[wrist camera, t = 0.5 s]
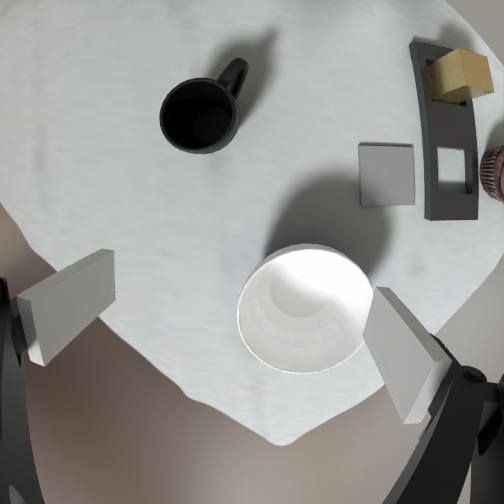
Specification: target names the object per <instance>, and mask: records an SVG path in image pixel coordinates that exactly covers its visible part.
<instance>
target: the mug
mask: <svg viewBox="0 0 504 504" xmlns="http://www.w3.org/2000/svg"><path fill="white" fill-rule="evenodd" d="M247 72H248V64H247V62H246V61H245V60H243V59H241V58H236V59H234V60H233V61H232V62H231V63H230V64H229V65H228V66H227V67H226V69H225V70H224V71H223V72H222V74H221V75H220V77H219V78H218V79H217V81H215V80H212V79H208V78H195V79H190V80H187V81H185V82H182V83H180V84H179V85H177V86H176V87H175V88H173V89H172V90H171V91H170V92H169V94H168V95H167V96H166V98H165V100H164V101H163V104H162V107H161V110H160V117H159V118H160V127H161V130H162V132H163V135H164V136H165V138H166V139H167V141H168V142H170V143H171V144H172V145H173V146H174V147H176V148H178V149H179V150H182V151H185V152H189V153H194V154H208V153H213V152H215V151H218V150H220V149H222V148H224V147H225V146H227V145H228V144H229V143H230V142H231V141H232V139H233V138H234V136H235V135H236V133H237V130H238V127H239V120H240V115H239V109H238V106H237V103H236V99H237V97H238V95H239V92H240V90H241V88H242V85H243V83H244V80H245V78H246V75H247ZM231 82H232V83H231ZM230 83H231V85H230ZM229 85H230V88H229V90H228V89H227V88H228V86H229Z"/></svg>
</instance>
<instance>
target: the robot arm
mask: <svg viewBox="0 0 504 504" xmlns="http://www.w3.org/2000/svg"><path fill="white" fill-rule="evenodd" d="M114 301H115V274H114V251H113V250H107V249H100V250H98V251H96V252H94V253H92V254H91V255H89V256H87V257H85V258H83V259H81V260H79V261H77V262H75V263H74V264H72V265H70V266H68V267H66V268H64V269H63V270H61V271H59V272H57V273H55V274H54V275H52V276H50V277H48V278H47V279H45V280H43V281H41V282H39V283H38V284H36V285H34V286H32V287H31V288H29V289H27V290H26V291H24V292H22V293H21V294H19V295H17V296H16V297H14V298H13V299H11V300H10V299H9V293H8V287H7V280H6V279H5V278H3V277H0V504H45V502H44V500H43V497H42V493H41V489H40V485H39V481H38V477H37V472H36V467H35V463H34V457H33V452H32V446H31V440H30V433H29V426H28V419H27V418H28V417H27V408H26V397H25V380H24V359H23V356H22V352H23V351H24V350H25V349H26V348H27V349H28V353H29V356H30V360H31V361H33V362H35V363H37V364H40V365H42V366H46V365H47V364H48V363H49V361H51V360H52V359H53V358H54V357H55V356H56V355H57V354H58V353H59V352H60V351H61V350H62V349H63V348H64V347H65V346H66V345H67V344H68V343H69V342H70V341H71V340H73V339H74V338H75V337H76V336H77V335H78V334H79V333H80V332H81V331H82V330H83V329H84V328H85V327H86V326H88V325H89V324H90V323H91V322H92V321H93V320H94V319H95V318H96V317H97V316H98V315H99V314H101V313H102V312H103V311H104V310H105V309H106V308H107V307H108V306H109V305H111V304H112V303H113V302H114ZM362 336H363V338H364V340H365V342H366V344H367V346H368V349H369V351H370V353H371V355H372V357H373V359H374V361H375V363H376V365H377V367H378V369H379V372H380V374H381V376H382V378H383V380H384V382H385V384H386V387H387V389H388V391H389V393H390V395H391V397H392V400H393V402H394V404H395V406H396V409H397V411H398V413H399V415H400V418H401V420H402V422H403V424H412V423H421V421H422V419H423V417H424V416H425V414H426V412H427V411H429V413H430V415H431V419H430V421H429V423H428V424H427V426H426V428H425V429H424V431H423V432H422V434H421V436H420V437H419V439H420V440H419V443H418V444H417V446H416V448H415V450H414V452H413V454H412V456H411V458H410V459H409V461H408V463H407V465H406V466H405V468H404V470H403V471H402V473H401V475H400V477H399V478H398V480H397V482H396V483H395V485H394V486H393V488H392V490H391V491H390V493H389V494H388V496H387V497H386V499H385V500H384V502H383V503H382V504H457V502H458V499H459V497H460V494H461V491H462V488H463V485H464V482H465V479H466V476H467V473H468V469H469V466H470V463H471V494H470V504H504V374H503V376H502V377H501V379H500V381H499V383H498V384H497V383H491V382H487V379H486V376H485V375H484V374H483V373H482V372H481V371H480V370H478V369H476V368H474V367H470V366H461V365H460V364H459V362H458V361H457V360H456V359H455V357H454V356H453V355H452V354H451V353H450V352H449V350H448V349H447V348H446V347H445V345H444V344H443V343H442V342H441V341H440V340H439V339H438V338H436V337H435V336H434V335H432V334H431V333H429V332H428V331H427V330H426V329H425V328H424V326H423V325H422V324H421V323H420V322H419V321H418V320H417V318H416V317H415V316H414V315H413V314H412V313H411V312H410V310H409V309H408V308H407V307H406V306H405V305H404V304H403V302H402V301H401V300H400V299H399V298H398V297H397V296H396V295H395V294H394V293H393V291H392V290H391V289H390V288H385V287H377V286H376V287H375V291H374V295H373V299H372V302H371V306H370V310H369V313H368V317H367V320H366V324H365V327H364V331H363V334H362Z"/></svg>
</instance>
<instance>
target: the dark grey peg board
mask: <svg viewBox="0 0 504 504" xmlns="http://www.w3.org/2000/svg"><path fill="white" fill-rule="evenodd" d="M409 49H410V54H411V59H412V64H413V69H414V75H415V81H416V88H417V95H418V102H419V110H420V119H421V129H422V141H423V157H424V184H425V214H424V218H425V219H427V220H430V221H439V220H478V199H479V178H478V152H477V138H476V127H475V118H474V110H473V102H472V99H469V100H466V101H462V102H459V103H460V105H454V104H448V103H442V102H435V101H432V97H431V90H430V84H429V78H428V72H427V66H426V64H429V65H430V64H432V63H433V62H435V61H437V60H438V59H440V58H442V57H443V56H445V55H447V54H448V53H450V52H452V51H453V49H449V48H445V47H440V46H436V45H431V44H426V43H421V42H416V41H414V42H412V43H411V44H410V45H409ZM437 148H445V149H456V150H464V154H465V185H466V193H440V192H438V161H437Z"/></svg>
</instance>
